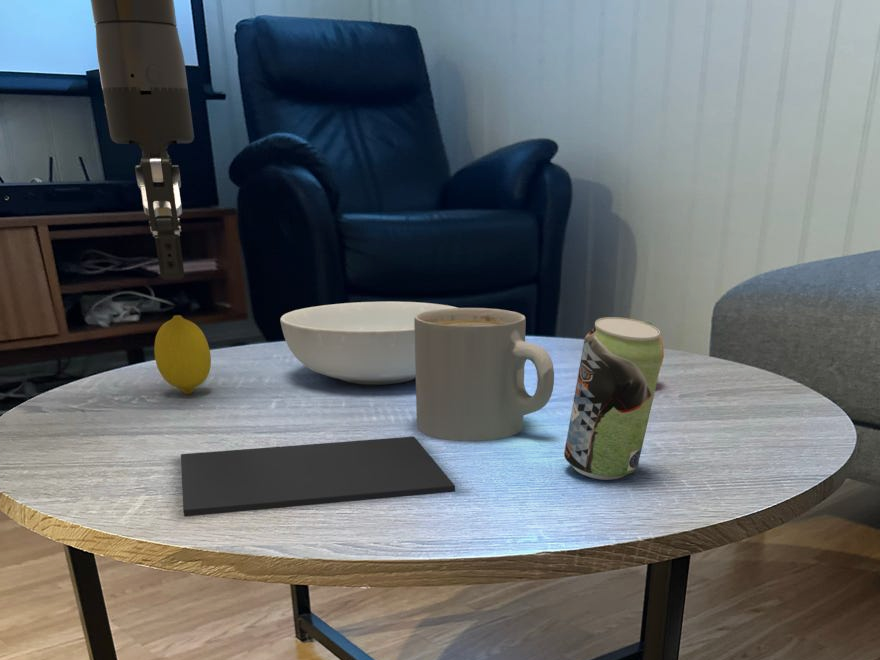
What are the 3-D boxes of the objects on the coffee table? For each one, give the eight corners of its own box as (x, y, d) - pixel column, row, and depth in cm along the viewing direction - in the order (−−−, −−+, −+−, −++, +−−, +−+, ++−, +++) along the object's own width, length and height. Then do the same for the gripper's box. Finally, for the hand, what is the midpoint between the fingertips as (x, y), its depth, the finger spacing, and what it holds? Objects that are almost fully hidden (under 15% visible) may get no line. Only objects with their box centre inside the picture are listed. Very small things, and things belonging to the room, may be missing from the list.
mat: (184, 517, 67) (183, 510, 66) (181, 460, 78) (180, 453, 78) (455, 492, 72) (455, 485, 71) (414, 442, 84) (414, 436, 83)
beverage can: (586, 457, 80) (595, 310, 74) (665, 473, 76) (681, 319, 71) (547, 475, 75) (554, 320, 70) (629, 493, 72) (643, 331, 66)
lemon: (213, 399, 97) (202, 319, 93) (157, 401, 96) (145, 320, 92) (217, 387, 102) (207, 310, 98) (164, 388, 101) (152, 311, 97)
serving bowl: (436, 353, 119) (435, 296, 115) (496, 390, 101) (497, 323, 98) (271, 364, 112) (265, 304, 109) (305, 405, 95) (300, 335, 92)
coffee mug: (395, 427, 88) (391, 316, 83) (469, 408, 94) (469, 304, 89) (499, 457, 80) (501, 336, 75) (572, 434, 86) (578, 321, 81)
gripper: (106, 87, 91) (135, 266, 98) (96, 80, 79) (131, 284, 86) (186, 88, 93) (209, 263, 100) (189, 81, 81) (214, 281, 88)
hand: (173, 273), depth 93 cm, fingers open, 8 cm apart
